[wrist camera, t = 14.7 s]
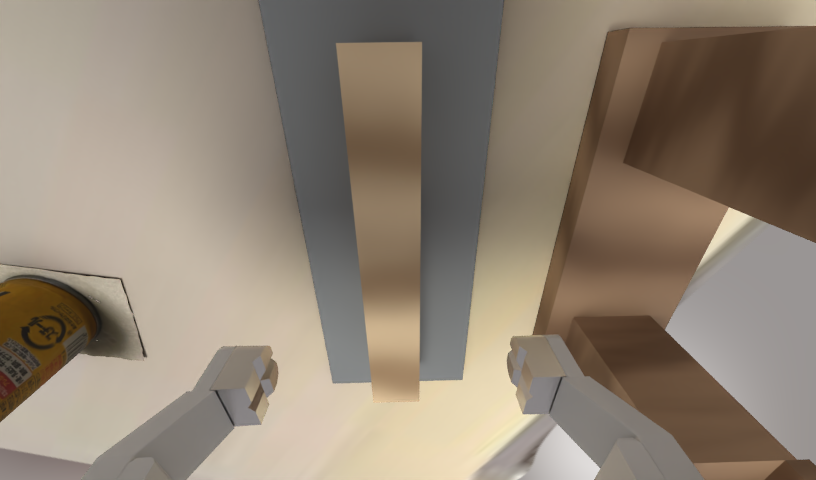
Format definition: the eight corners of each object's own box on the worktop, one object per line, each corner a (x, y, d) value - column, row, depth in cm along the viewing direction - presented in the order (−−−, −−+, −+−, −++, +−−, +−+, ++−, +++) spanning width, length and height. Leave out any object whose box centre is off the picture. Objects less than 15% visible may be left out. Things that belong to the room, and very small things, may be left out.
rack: (607, 32, 14) (1262, -87, 3) (783, 30, 14) (1948, -91, 3) (526, 358, 24) (626, 583, 13) (629, 355, 24) (807, 576, 14)
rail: (348, 48, 13) (335, 43, 11) (417, 47, 13) (422, 42, 11) (376, 364, 23) (373, 402, 20) (417, 363, 23) (419, 401, 20)
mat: (262, -8, 13) (256, -11, 12) (501, -10, 13) (505, -13, 13) (334, 376, 24) (333, 383, 24) (460, 373, 25) (462, 379, 24)
